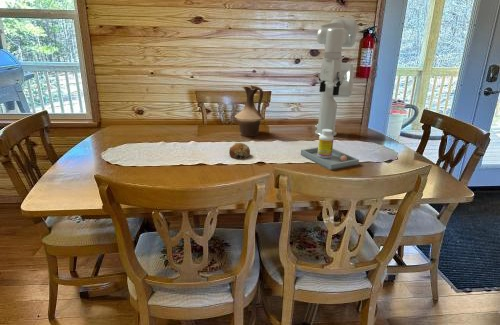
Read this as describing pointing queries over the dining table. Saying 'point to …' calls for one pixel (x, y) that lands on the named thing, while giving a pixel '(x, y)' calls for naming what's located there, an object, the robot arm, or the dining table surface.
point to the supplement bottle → (325, 144)
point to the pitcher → (250, 113)
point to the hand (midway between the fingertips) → (328, 93)
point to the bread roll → (239, 151)
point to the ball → (343, 158)
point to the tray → (330, 159)
